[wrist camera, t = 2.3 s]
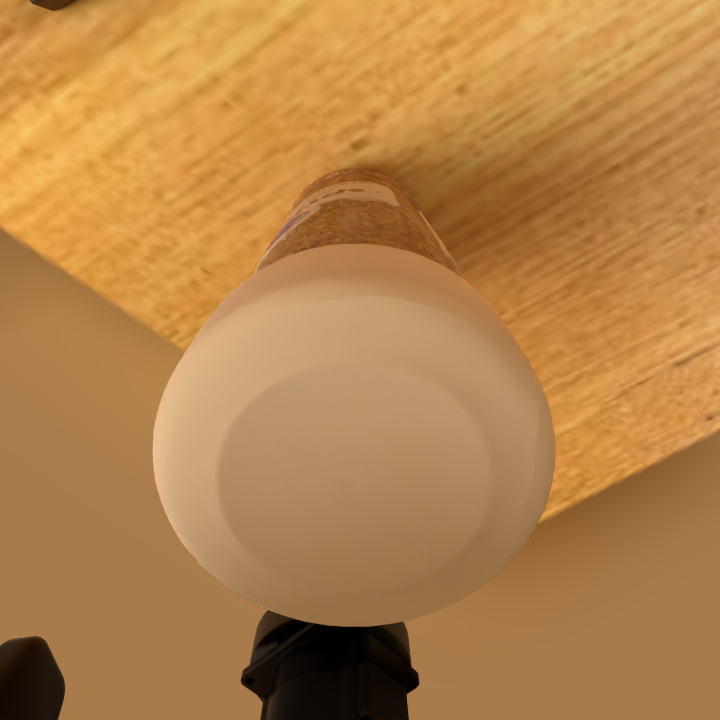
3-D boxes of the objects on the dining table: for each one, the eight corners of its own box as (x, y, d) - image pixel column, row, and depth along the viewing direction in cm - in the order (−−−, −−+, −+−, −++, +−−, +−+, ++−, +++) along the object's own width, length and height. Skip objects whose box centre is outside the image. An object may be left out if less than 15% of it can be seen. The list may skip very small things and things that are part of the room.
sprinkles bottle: (318, 141, 18) (226, 197, 5) (452, 207, 18) (655, 394, 6) (263, 277, 19) (89, 571, 7) (388, 332, 20) (442, 689, 7)
